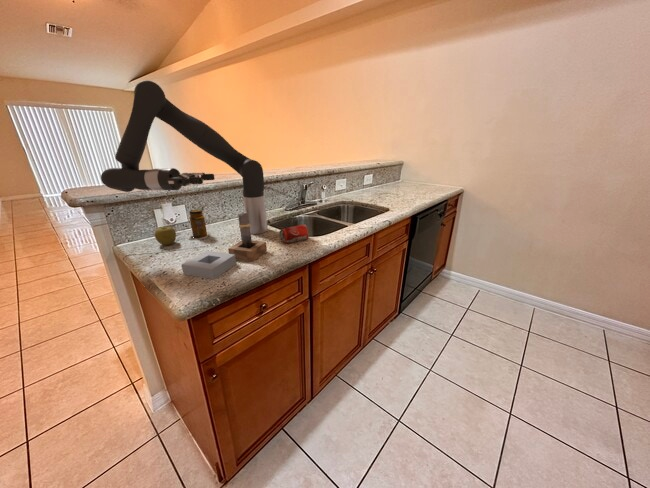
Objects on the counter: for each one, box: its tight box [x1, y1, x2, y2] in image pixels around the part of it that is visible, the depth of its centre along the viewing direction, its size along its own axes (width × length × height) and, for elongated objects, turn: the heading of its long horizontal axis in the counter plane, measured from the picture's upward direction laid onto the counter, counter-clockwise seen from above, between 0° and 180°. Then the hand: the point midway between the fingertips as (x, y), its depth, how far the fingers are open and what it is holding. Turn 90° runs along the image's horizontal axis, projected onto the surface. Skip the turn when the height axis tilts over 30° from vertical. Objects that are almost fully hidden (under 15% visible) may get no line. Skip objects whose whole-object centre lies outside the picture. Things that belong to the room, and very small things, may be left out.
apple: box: [154, 226, 177, 246], centre depth 111 cm, size 8×8×7 cm
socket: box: [181, 250, 237, 280], centre depth 90 cm, size 12×12×4 cm
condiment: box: [189, 208, 210, 240], centre depth 119 cm, size 7×8×12 cm
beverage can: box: [279, 223, 311, 244], centre depth 113 cm, size 7×12×7 cm, turn 122°
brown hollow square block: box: [227, 239, 268, 262], centre depth 100 cm, size 10×10×4 cm
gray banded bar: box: [237, 212, 253, 249], centre depth 98 cm, size 4×4×16 cm
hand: (208, 178), depth 91 cm, fingers open, 8 cm apart
